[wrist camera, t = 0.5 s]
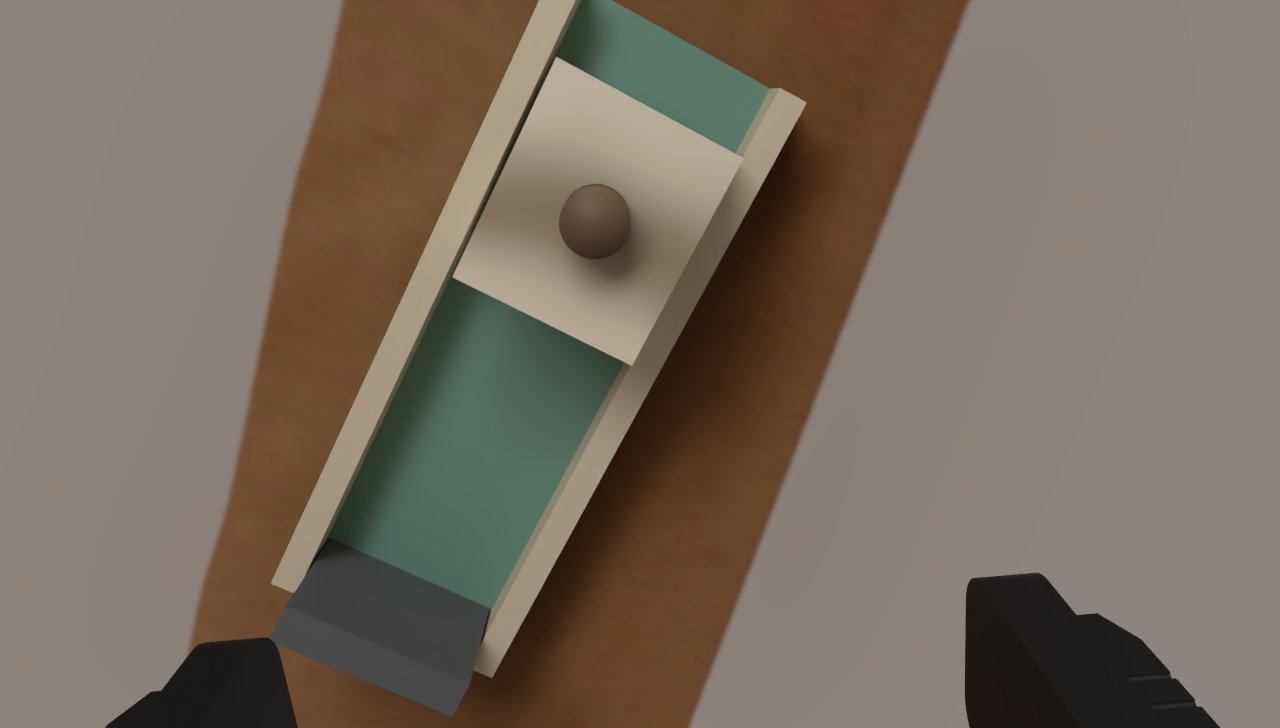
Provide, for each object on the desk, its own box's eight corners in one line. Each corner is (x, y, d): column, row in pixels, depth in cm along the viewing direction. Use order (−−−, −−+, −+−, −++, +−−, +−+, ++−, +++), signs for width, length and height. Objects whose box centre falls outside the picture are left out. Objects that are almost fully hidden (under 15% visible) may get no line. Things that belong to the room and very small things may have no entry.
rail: (562, -24, 32) (549, -52, 26) (789, 102, 33) (826, 102, 27) (299, 543, 37) (238, 627, 31) (502, 631, 39) (480, 729, 33)
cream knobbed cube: (567, 64, 31) (553, 54, 25) (723, 148, 32) (749, 161, 25) (479, 248, 33) (444, 284, 26) (630, 324, 34) (632, 377, 27)
